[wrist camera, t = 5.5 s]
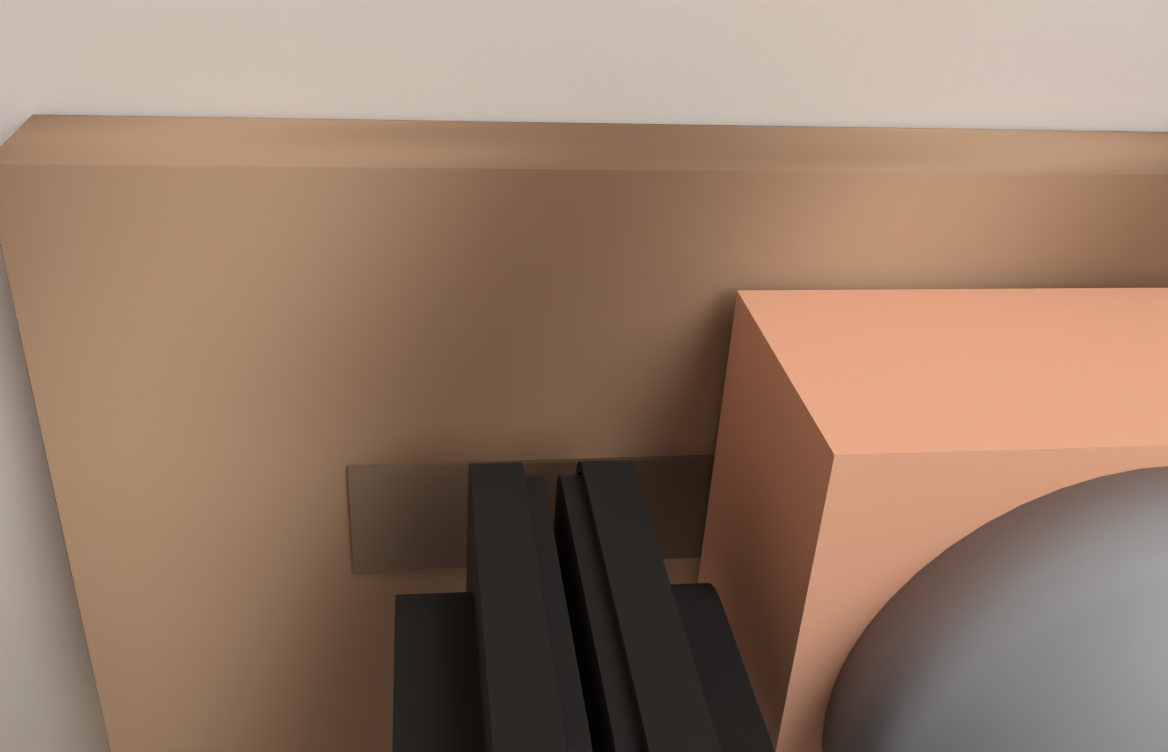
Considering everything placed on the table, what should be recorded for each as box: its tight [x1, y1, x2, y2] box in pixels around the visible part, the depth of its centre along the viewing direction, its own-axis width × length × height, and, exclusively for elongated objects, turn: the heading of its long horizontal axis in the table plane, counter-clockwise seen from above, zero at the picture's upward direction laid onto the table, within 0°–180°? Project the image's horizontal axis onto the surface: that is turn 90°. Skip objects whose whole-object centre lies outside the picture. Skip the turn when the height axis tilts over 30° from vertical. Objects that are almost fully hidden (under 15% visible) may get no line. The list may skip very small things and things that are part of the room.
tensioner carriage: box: [698, 288, 1168, 752], centre depth 11 cm, size 6×6×5 cm
